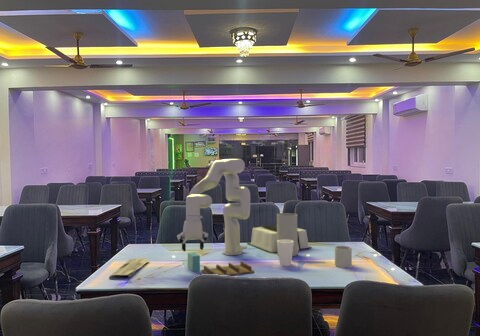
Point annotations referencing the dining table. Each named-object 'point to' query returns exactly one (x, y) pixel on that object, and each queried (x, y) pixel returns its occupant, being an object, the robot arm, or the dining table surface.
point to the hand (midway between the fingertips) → (192, 250)
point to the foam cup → (285, 251)
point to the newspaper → (129, 267)
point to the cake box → (274, 238)
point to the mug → (343, 256)
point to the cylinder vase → (287, 229)
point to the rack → (229, 269)
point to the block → (194, 261)
